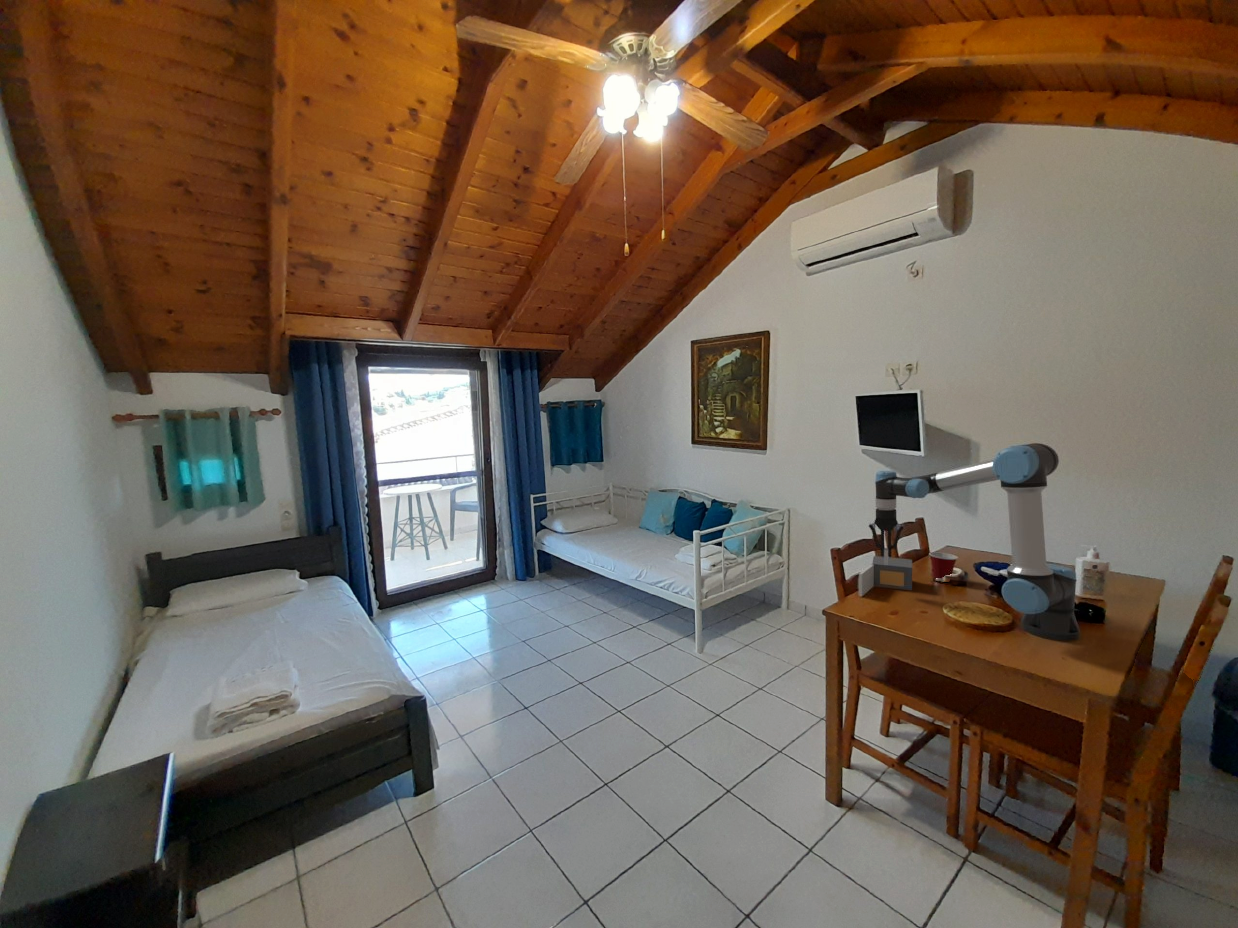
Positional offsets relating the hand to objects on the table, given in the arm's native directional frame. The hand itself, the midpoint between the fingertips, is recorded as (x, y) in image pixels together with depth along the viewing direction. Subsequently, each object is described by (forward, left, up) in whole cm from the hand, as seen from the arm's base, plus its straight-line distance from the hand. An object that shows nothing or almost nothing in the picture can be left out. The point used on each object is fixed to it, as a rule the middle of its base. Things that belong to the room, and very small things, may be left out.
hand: (886, 564), depth 206 cm
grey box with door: (+13, -2, -13) cm, 18 cm away
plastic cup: (+25, -22, -13) cm, 36 cm away
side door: (-1, +7, -12) cm, 14 cm away
